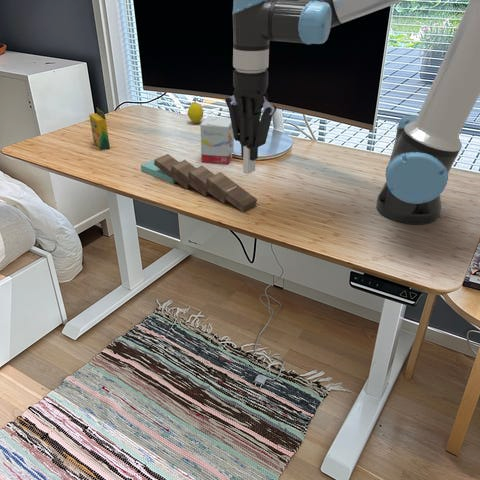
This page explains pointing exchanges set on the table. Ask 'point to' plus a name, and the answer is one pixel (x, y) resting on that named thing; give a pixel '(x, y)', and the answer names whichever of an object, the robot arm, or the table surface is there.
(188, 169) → the domino
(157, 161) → the domino
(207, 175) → the domino
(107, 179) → the table surface
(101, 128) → the crayon box
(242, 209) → the domino
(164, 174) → the domino
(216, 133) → the ink box
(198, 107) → the fruit
